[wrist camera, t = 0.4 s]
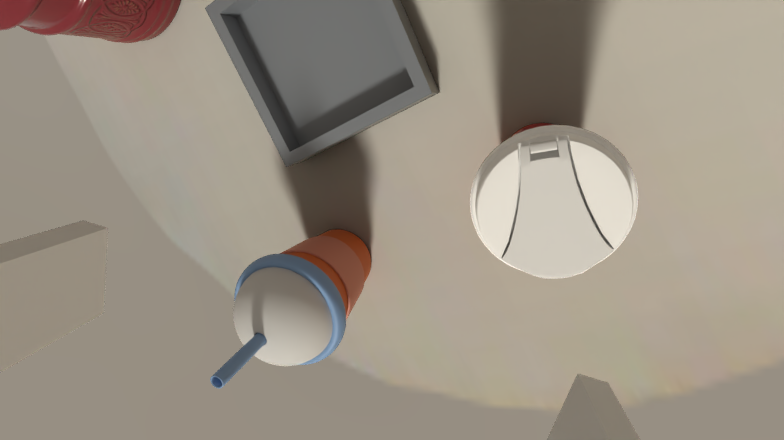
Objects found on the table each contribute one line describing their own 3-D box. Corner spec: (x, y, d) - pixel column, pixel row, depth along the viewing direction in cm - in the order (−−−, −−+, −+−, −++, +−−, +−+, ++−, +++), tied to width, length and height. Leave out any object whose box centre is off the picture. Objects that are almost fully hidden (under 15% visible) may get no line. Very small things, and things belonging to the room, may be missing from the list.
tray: (362, -88, 29) (346, -106, 27) (439, 92, 32) (431, 93, 29) (229, 13, 35) (204, 8, 32) (303, 161, 37) (286, 167, 35)
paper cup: (481, 119, 32) (454, 144, 19) (589, 98, 29) (642, 111, 16) (495, 213, 34) (480, 293, 21) (597, 201, 31) (649, 285, 18)
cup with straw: (298, 285, 42) (158, 414, 26) (303, 204, 39) (146, 293, 23) (380, 309, 40) (283, 466, 24) (392, 226, 37) (289, 341, 20)
